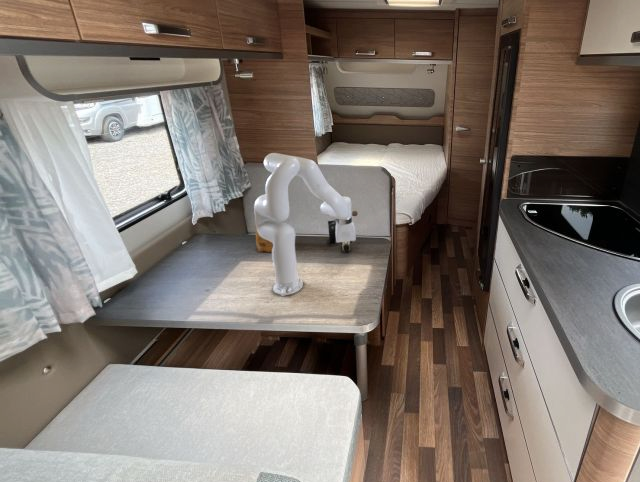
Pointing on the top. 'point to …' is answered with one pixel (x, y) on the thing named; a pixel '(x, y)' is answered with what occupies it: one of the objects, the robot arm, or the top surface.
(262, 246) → the coffee package
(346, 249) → the butter
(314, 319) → the top surface
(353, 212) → the lever
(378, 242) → the top surface
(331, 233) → the slicer
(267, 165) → the robot arm
